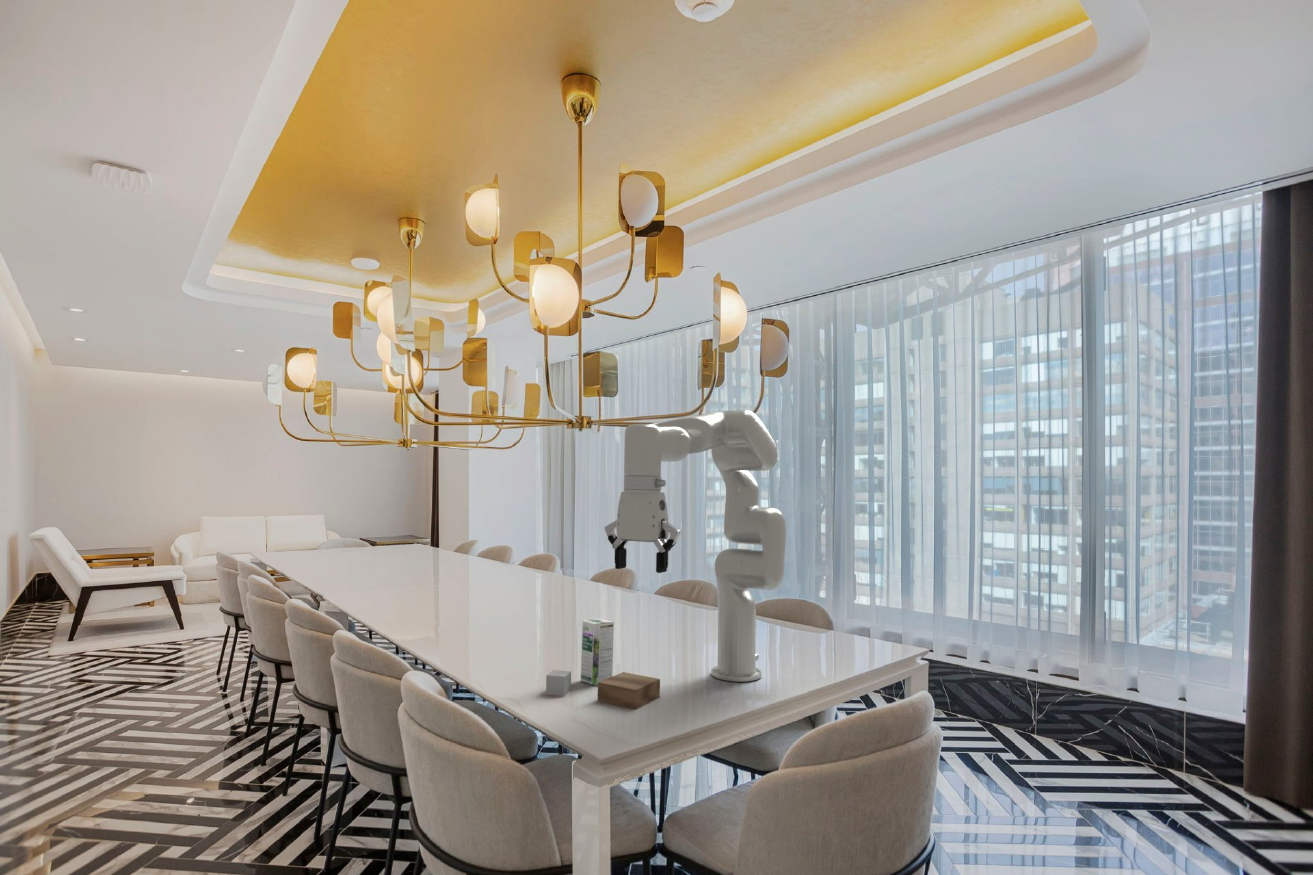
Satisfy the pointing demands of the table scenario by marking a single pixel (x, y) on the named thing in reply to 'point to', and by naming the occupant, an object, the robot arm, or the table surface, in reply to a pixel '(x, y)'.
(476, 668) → the table surface
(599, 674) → the syrup box
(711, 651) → the table surface
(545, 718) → the table surface
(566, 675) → the grey stone cube
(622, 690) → the walnut base
